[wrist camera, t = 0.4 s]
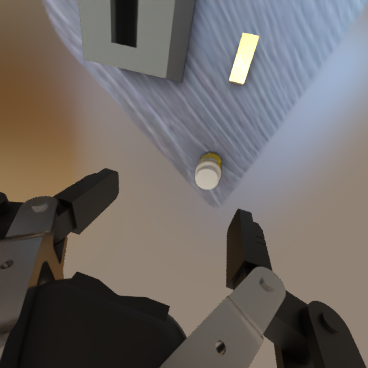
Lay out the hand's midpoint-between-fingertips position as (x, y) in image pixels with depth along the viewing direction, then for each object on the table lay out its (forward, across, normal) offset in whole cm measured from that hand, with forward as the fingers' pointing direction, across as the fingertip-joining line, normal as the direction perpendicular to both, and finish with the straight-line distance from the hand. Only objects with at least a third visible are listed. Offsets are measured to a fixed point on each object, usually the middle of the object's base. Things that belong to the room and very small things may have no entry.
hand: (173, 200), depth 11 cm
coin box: (+25, +13, -12) cm, 31 cm away
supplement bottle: (+25, -2, +7) cm, 26 cm away
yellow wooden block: (+25, -2, -10) cm, 27 cm away
